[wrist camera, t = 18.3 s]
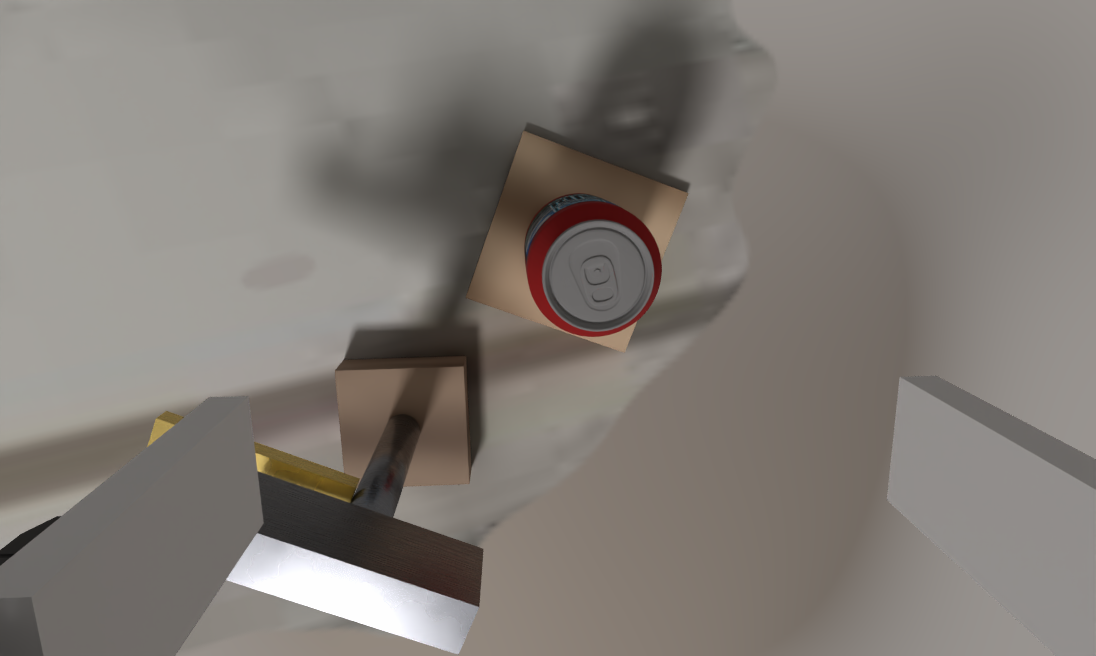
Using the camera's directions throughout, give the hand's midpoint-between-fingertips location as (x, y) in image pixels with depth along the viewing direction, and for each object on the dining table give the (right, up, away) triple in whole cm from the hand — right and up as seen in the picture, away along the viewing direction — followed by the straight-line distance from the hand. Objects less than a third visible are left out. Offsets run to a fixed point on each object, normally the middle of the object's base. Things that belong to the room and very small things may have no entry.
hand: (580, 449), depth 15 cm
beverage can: (+1, +8, +31) cm, 32 cm away
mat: (+1, +8, +32) cm, 33 cm away
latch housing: (-10, -3, +34) cm, 36 cm away
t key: (-12, -3, +31) cm, 33 cm away
